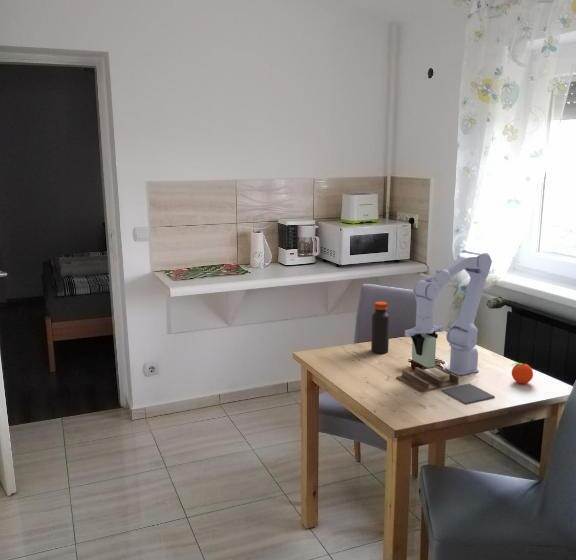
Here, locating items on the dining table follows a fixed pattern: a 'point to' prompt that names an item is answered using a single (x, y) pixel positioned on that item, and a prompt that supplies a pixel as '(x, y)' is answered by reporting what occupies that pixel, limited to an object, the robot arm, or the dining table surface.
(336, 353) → the dining table surface
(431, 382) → the rack
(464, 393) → the mat
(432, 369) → the offcut top
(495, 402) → the dining table surface
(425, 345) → the sage panel
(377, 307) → the bottle
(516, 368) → the tomato
